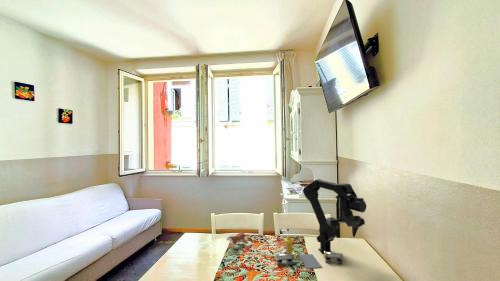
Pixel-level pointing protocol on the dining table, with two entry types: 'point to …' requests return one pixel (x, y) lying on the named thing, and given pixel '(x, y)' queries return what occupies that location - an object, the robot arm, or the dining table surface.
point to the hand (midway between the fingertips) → (345, 237)
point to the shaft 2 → (333, 257)
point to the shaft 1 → (285, 258)
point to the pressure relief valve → (287, 245)
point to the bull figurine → (236, 238)
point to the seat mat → (310, 261)
